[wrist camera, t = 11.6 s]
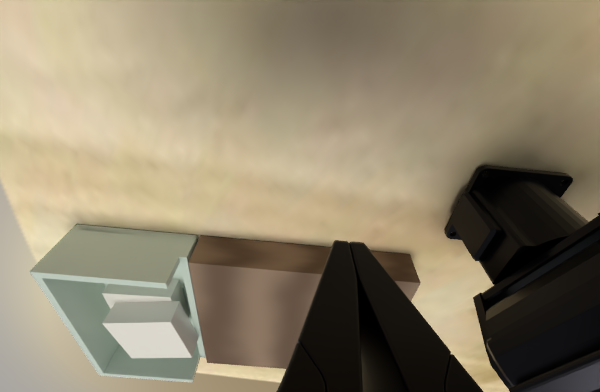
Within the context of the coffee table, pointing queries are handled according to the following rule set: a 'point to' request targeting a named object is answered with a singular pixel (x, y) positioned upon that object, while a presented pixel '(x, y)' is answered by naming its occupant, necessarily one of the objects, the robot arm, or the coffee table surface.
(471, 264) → the coffee table surface
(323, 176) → the coffee table surface
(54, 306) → the box
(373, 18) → the coffee table surface
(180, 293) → the tile
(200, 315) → the brown flat block
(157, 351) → the tile
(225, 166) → the coffee table surface
